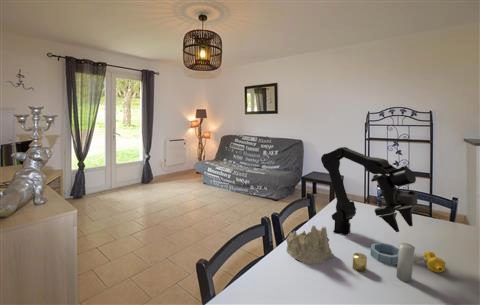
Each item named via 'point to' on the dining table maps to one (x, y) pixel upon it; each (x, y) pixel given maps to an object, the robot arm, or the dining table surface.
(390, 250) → the collar
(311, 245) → the jagged beige rock
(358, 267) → the short brass cylinder
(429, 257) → the pressure relief valve
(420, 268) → the dining table surface
